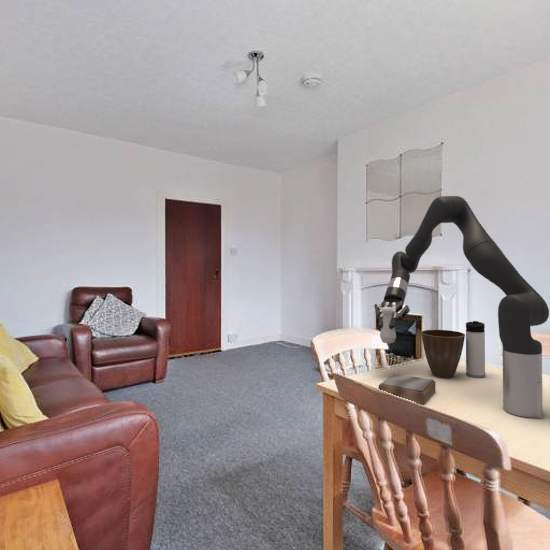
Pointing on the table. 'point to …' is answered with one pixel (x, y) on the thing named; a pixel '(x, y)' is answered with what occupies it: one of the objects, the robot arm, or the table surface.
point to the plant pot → (443, 351)
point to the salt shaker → (387, 326)
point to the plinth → (409, 387)
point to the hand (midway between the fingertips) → (385, 327)
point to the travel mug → (475, 349)
